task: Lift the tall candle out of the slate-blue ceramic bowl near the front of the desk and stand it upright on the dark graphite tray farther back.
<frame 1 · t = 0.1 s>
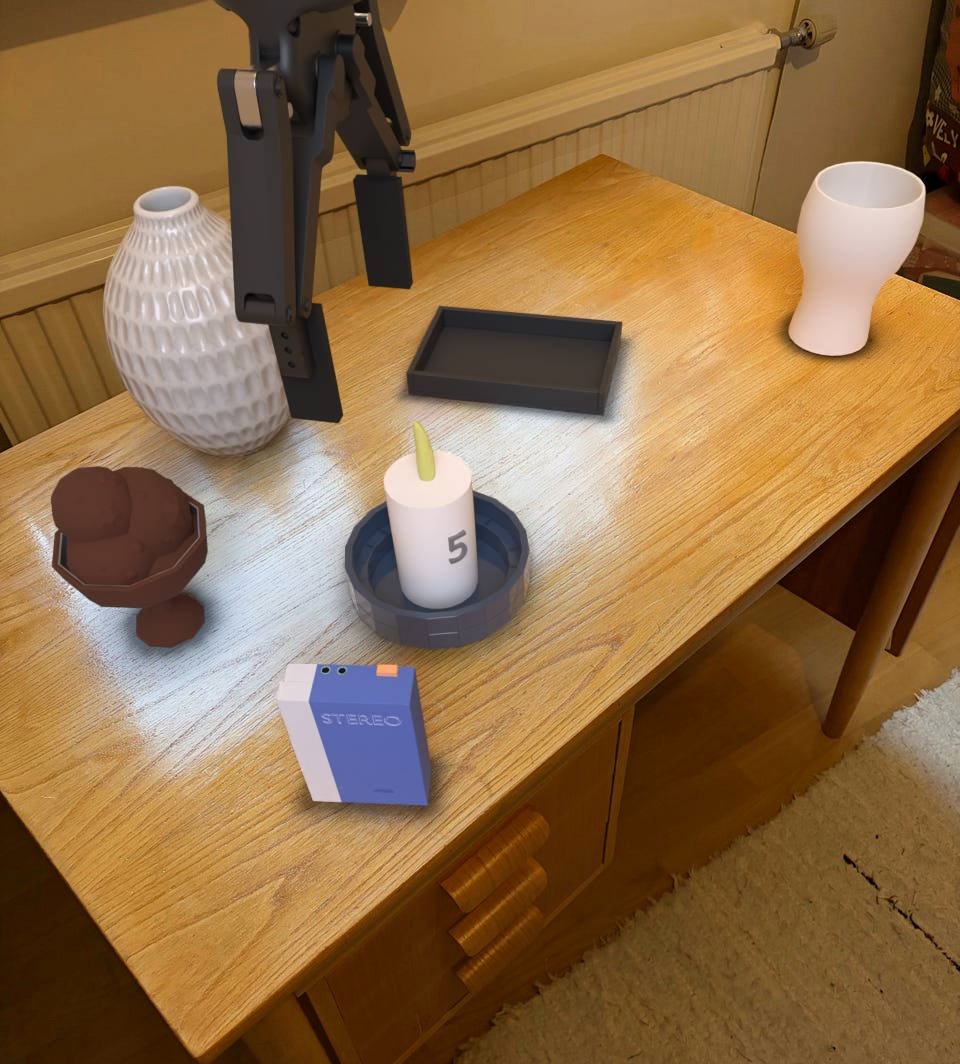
hand: (357, 346, 53), 24 cm above the table, tool pointing down, fingers open, 13 cm apart
walkman: (374, 788, 61), on the table
bowl: (440, 583, 73), on the table
cup: (826, 336, 93), on the table
tray: (517, 368, 91), on the table
vase: (238, 436, 86), on the table
candle: (440, 581, 73), resting on bowl
ice cream bowl: (171, 622, 72), on the table
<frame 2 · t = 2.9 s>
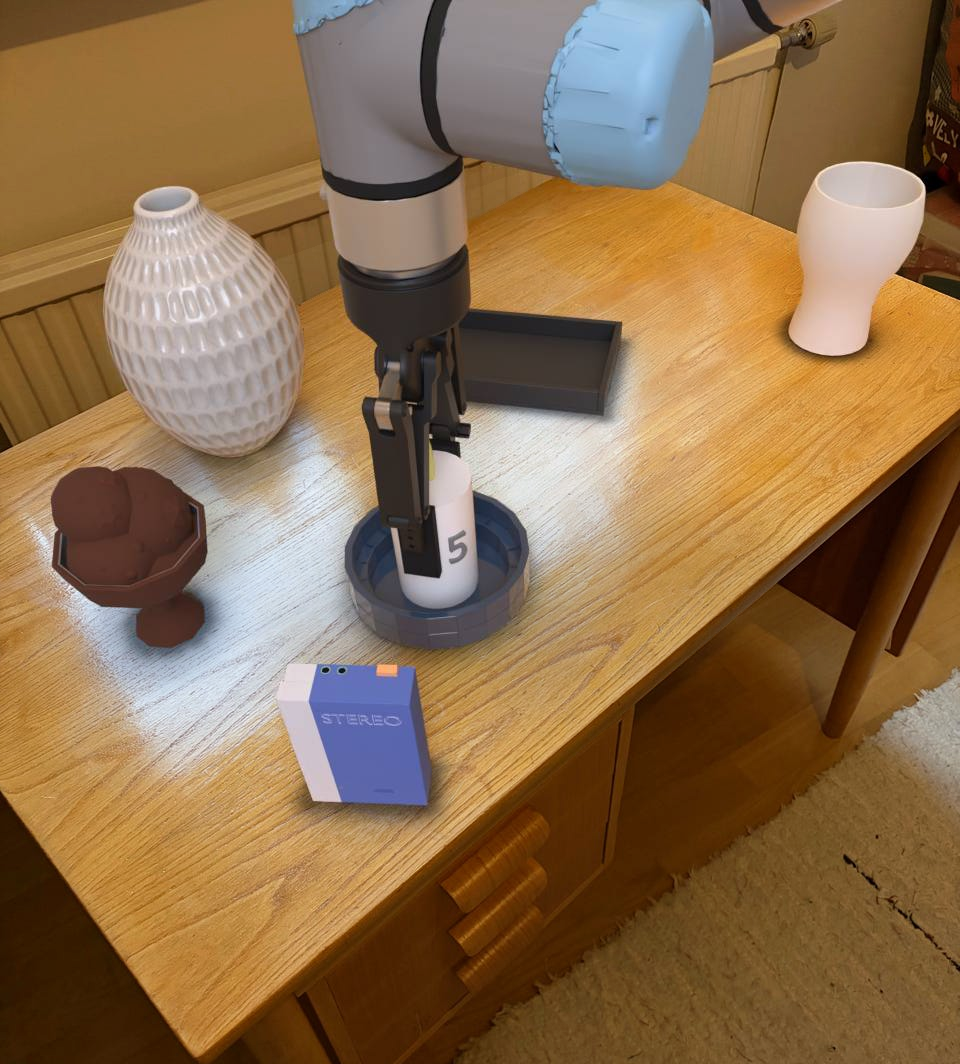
hand: (435, 539, 69), 5 cm above the table, tool pointing down, fingers closed on candle, 6 cm apart
candle: (440, 581, 73), resting on bowl, touching gripper
everything else where it was.
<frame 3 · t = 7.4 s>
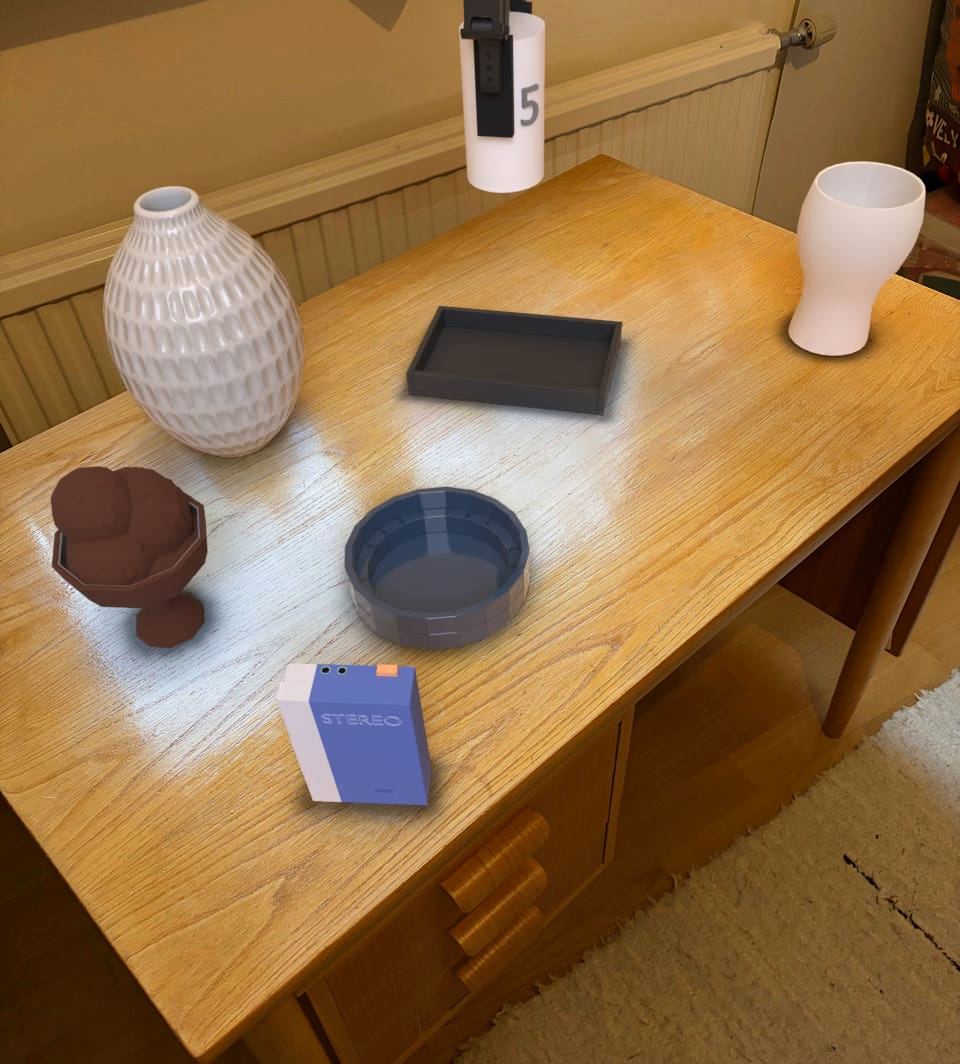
hand: (505, 115, 71), 25 cm above the table, tool pointing down, fingers closed on candle, 6 cm apart
candle: (506, 177, 74), point 20 cm above the table, touching gripper
everything else where it was.
when the fingers open (5 cm above the table, at t = 12.1 s): candle stays where it is, resting on tray.
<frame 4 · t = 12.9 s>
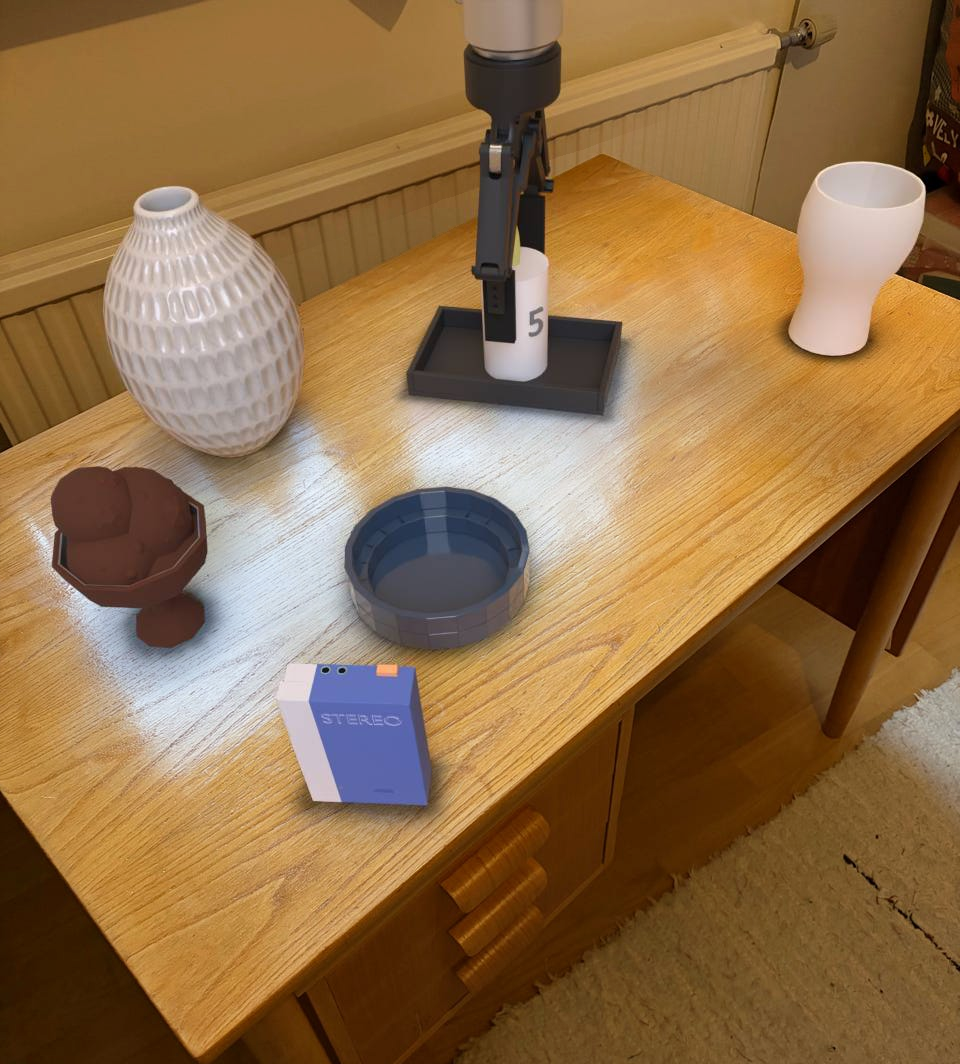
hand: (516, 300, 85), 7 cm above the table, tool pointing down, fingers open, 13 cm apart
candle: (516, 365, 91), resting on tray
everything else where it was.
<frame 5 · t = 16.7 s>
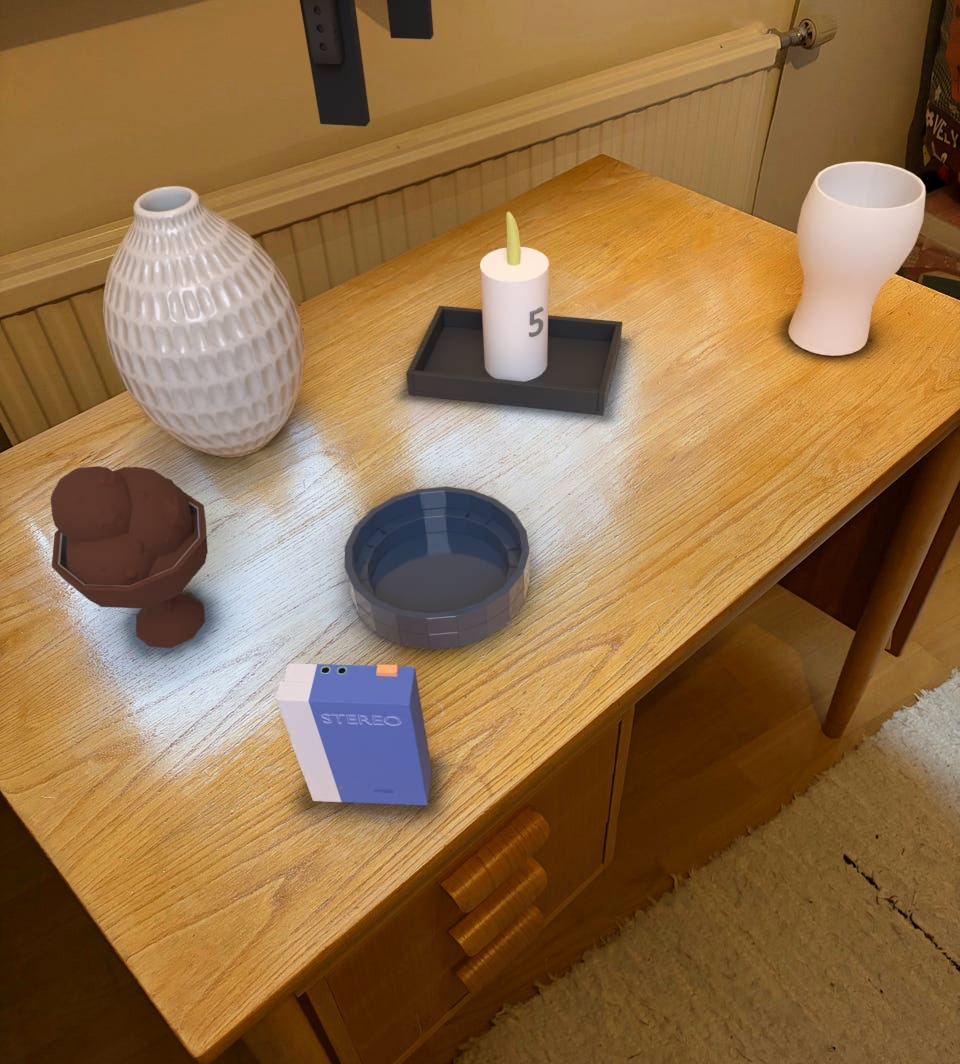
hand: (381, 77, 55), 33 cm above the table, tool pointing down, fingers open, 13 cm apart
nothing on the table moved.
at the end: candle inside the target area in the tray (0.0 cm from its centre), point 0.3 cm above the tray's base; candle tilted 0° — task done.
